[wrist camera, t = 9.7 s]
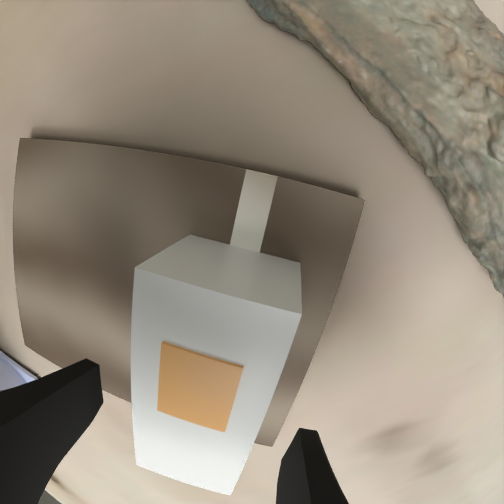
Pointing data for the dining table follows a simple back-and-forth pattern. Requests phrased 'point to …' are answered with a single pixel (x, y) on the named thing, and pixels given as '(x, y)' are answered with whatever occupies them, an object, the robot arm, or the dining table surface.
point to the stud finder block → (207, 356)
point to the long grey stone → (424, 93)
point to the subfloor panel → (158, 247)
